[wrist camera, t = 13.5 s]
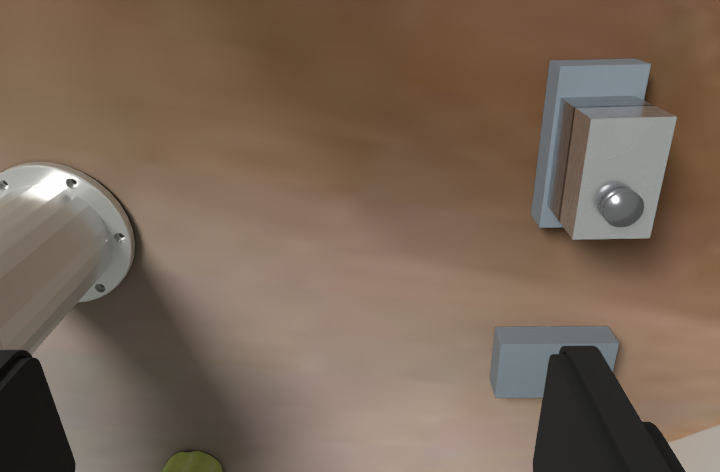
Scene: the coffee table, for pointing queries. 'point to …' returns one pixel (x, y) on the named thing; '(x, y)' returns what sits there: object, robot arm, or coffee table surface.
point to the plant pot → (192, 463)
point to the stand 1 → (578, 82)
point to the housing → (609, 166)
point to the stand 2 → (539, 355)
